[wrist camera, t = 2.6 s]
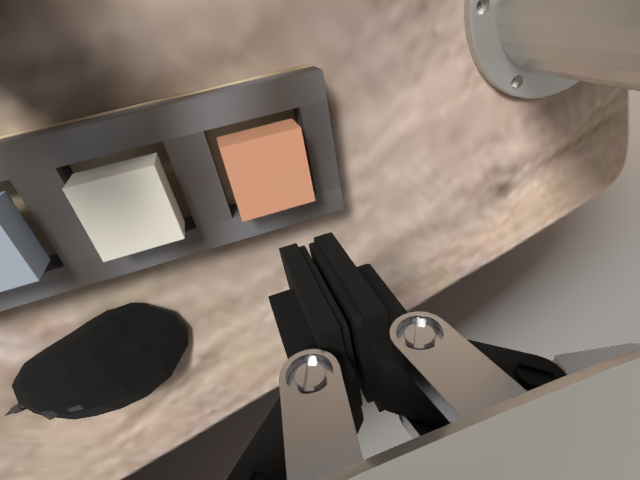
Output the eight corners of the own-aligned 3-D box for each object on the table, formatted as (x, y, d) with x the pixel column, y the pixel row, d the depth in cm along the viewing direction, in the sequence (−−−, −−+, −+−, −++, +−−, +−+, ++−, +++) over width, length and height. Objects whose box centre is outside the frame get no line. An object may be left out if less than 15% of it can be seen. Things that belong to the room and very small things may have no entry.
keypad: (308, 64, 22) (322, 69, 20) (331, 193, 26) (344, 209, 24) (-315, 209, 18) (-386, 236, 15) (-168, 337, 22) (-207, 373, 20)
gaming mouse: (-48, 394, 26) (-82, 449, 23) (151, 281, 26) (146, 320, 23) (30, 438, 30) (10, 492, 26) (205, 338, 30) (207, 379, 26)
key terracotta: (291, 118, 21) (300, 127, 19) (305, 187, 23) (315, 200, 21) (216, 137, 20) (219, 148, 19) (238, 206, 22) (242, 221, 21)
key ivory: (156, 152, 20) (154, 165, 18) (184, 221, 22) (184, 238, 20) (72, 173, 19) (61, 188, 17) (109, 242, 21) (103, 262, 20)
